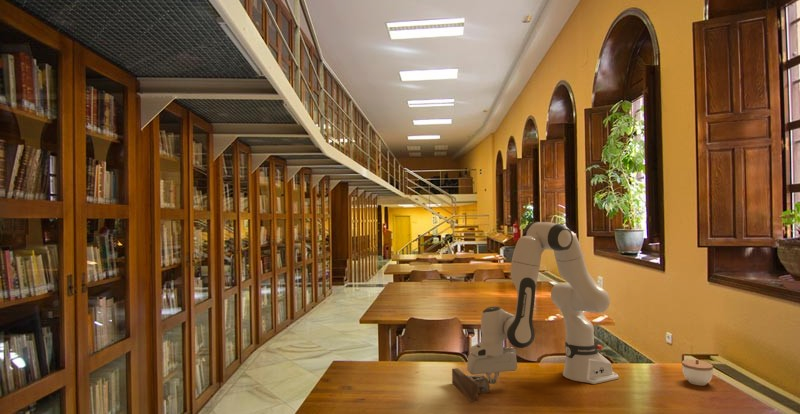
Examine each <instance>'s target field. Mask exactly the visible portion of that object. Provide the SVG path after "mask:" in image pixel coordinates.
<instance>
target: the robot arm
mask: <svg viewBox="0 0 800 414" xmlns="http://www.w3.org/2000/svg"><path fill="white" fill-rule="evenodd" d="M545 250H550V251H551V250H552V251H553V254H554V258H555V262H556V265H557V271H558V274H559V276H560V277H561V278H562V279H563V280H564V281H566V282H562V283H556V284H555V285H554V286H553V287H551V290H550V298H551V301H552V302H553V304H554V305H555V306H556V307H557V308H558V309H559V311H560V313H561V315H562V317H563V321H564V325H565V343H564V345H565V346H564V351H565V361H564V362H565V363H564V368H563V372H562V376H563V377H565V378H566V379H569V380H571V381H575V382H581V383H588V384H592V385H596V384H600V383H605V382H609V381H614V380H619V379H620V376H619V375H618V373H617V372H614V371H613V366H612V363H611V361H610V360H608V359H607V358H606V357H605V356H603V355H602V354H600V353H599V351H603V349H604V348H603V346H602V345H601V344H596V343H595V336H594V335H595V334H594V333H595V332H594V331H595V330H594V329H595V328H594V325H593V323H592V322H591V321H590V320H589V319H588V318H587V317H586V315H585V314H584V313H591V314H597V313H598V314H600V313H601V314H602V313H605V312H606V311H607V310H608V309H609V307H610V304H611V298H610V295H609V293H608V291H607V290H606V289H604V288H602V286H600V285H599V284H598V283H597V282H596V281H595V279H594V278H593V277H592V275H591V274H590V273H589V271H588V267H587V264H586V262H585V257H584V253H583V250H582V246H581V243H580V241H579V238H578V237H577V235H576V233H575V232H574V231H572V230H571V229H570V228H568V226H567V225H564V224H561V223H556V222H549V221H546V222H545V221H533V222H530V223H527V225H526V226H525V227H524V230H523V232H522V236H521V237H519V238H518V240H517V242H516V244H515V247H514V250H513V254H512V257H511V263H510V279H511V281H512V283H513V284H514V288H515V290H516V294H517V295H516V296H517V297H516V298H517V301H516V307H515V314H514V313H510V312H508V311H506V310H505V309H502V307H501V306H489V307H486V308H485V309H484V310H482V312H481V318H480V319H481V320H480V331H481V338H480V342H478V343H476V344H473V345H471V346H470V347H469V354H468V356H467V362H466V363H467V367H466V368H467V371H468V373H469V374H471V376H475V375H483V374H485V375H486V377H487V379H488V382H489V385H493V384H497V383H498V382H497V381H498V378H499V376H500V373H501V372H502V373H505V372H515V371H517V369H518V362H517V349H516V348H518V349H524V348H527V347H529V346H530V345H532V343H533V342H534V339H535V336H536V335H535V334H536V333H535V328H534V324H533V315H534V309H535V299H536V289H537V284H538V283H537V282H538V277H539V273H540V267H541V260H542V254H543V253H544V251H545ZM504 340H508V341H509V342H510V344H511V345H512V346H504ZM492 374H494V375H493V377H491V376H492Z"/></svg>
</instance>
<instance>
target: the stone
mask: <svg viewBox="0 0 800 414" xmlns="http://www.w3.org/2000/svg"><path fill="white" fill-rule="evenodd" d="M465 375H466V374H465ZM466 376H467V377H468V378H470V379H471V380H472V381H473V382H474V383H475V384H476V385H477V392H478V394H485V393H489V392H490V387H491V386H490V385H491V384H489V379H488V377H487V376H485V375H483V374H474V375H468V374H467V375H466Z"/></svg>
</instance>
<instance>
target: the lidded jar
mask: <svg viewBox="0 0 800 414" xmlns="http://www.w3.org/2000/svg"><path fill="white" fill-rule="evenodd" d="M681 366H682V367H681V369H682V374H683V376H684V378H685V379H686V380H687V381H688V382H689V383H690V384H691V385H695V386H706V385H707V384H708V383H710V382H711V380H712V378H713V373H714V365H713V364H712V363H709V362H706V361H703V360H699V359H698V358H696V359H684V360H682V361H681Z"/></svg>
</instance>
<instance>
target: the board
mask: <svg viewBox="0 0 800 414" xmlns="http://www.w3.org/2000/svg"><path fill="white" fill-rule="evenodd" d="M451 376H452V377H451V378H452V379H451V381H452V382H451V383H452V385H454V387H455V388H456V389H457V390H458V391H459V392H460V393H461V394H462V395H463V396H465V398H466V399H467V400H468V401H470V403H476V402H479V401H478V400H479V399H478V394H479V393H478V392H477V385H476V384H475V383H474V382H473V381H472V380H471V379H470V378H468V377H467V376H466V374H465V373H464V372H463V371H462V370H460V369H459V368H452V369H451Z"/></svg>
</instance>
